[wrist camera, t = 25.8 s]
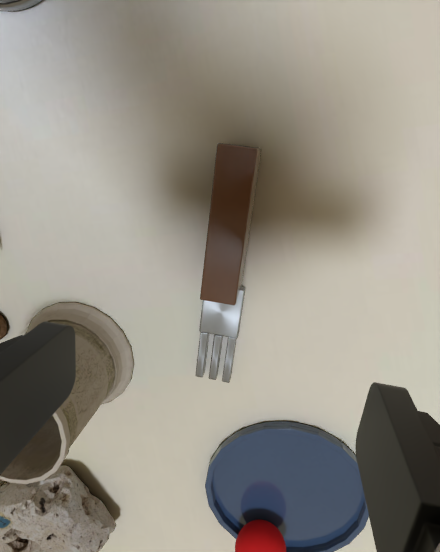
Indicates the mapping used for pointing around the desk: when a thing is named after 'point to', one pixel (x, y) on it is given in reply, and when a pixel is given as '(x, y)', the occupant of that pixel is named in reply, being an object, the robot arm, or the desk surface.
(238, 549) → the tomato
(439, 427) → the robot arm
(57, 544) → the stone
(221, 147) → the brown bar
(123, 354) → the mug
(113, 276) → the desk surface
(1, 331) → the place setting
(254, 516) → the plate
